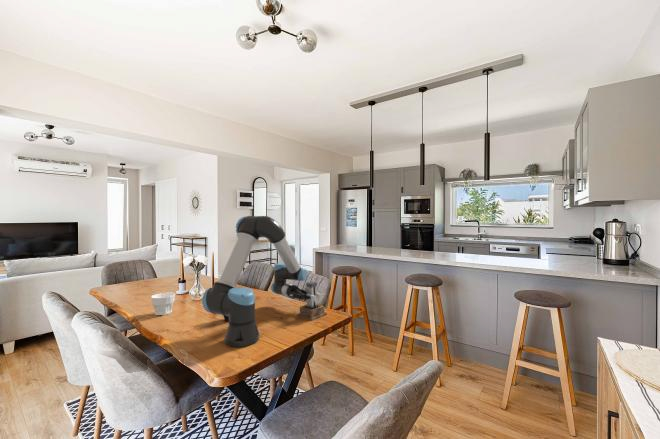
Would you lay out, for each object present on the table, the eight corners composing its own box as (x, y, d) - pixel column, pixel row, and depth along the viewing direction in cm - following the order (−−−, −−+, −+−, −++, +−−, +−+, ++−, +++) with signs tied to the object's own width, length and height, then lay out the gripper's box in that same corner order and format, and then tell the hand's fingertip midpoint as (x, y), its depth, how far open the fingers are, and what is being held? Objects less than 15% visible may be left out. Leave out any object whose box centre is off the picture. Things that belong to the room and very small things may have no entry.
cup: (180, 311, 177) (179, 293, 177) (160, 318, 166) (160, 299, 165) (166, 309, 182) (166, 291, 182) (146, 315, 171) (146, 296, 171)
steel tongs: (311, 312, 164) (311, 284, 164) (305, 310, 168) (304, 282, 168) (317, 310, 168) (316, 282, 167) (310, 308, 171) (310, 281, 171)
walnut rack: (312, 320, 159) (312, 311, 159) (297, 315, 167) (297, 307, 167) (326, 314, 168) (326, 305, 168) (311, 310, 176) (311, 302, 176)
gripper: (301, 293, 186) (329, 300, 170) (279, 300, 173) (307, 308, 157) (301, 282, 186) (328, 287, 170) (279, 287, 172) (307, 294, 157)
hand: (318, 297), depth 164 cm, fingers closed on steel tongs, 4 cm apart
